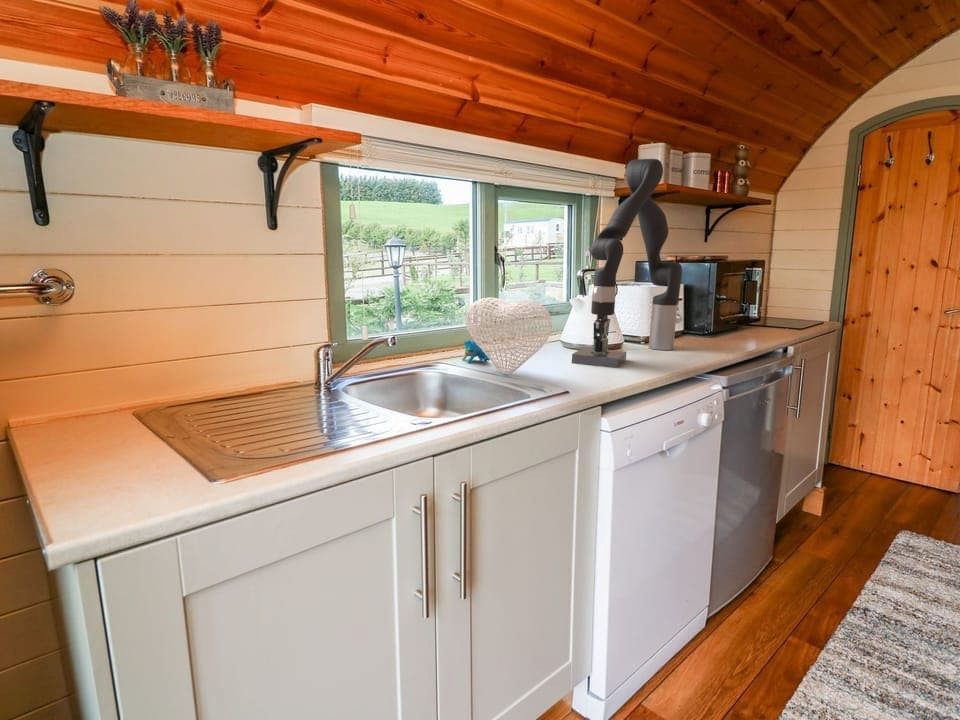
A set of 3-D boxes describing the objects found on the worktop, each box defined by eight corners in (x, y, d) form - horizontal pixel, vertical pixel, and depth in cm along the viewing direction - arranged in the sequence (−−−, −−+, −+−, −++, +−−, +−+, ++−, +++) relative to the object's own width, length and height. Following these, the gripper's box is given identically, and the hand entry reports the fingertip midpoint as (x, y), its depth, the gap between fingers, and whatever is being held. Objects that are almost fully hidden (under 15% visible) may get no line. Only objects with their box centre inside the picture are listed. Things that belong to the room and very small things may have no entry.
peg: (594, 360, 199) (596, 337, 198) (606, 361, 198) (608, 338, 196) (592, 362, 196) (593, 338, 194) (604, 363, 194) (605, 339, 192)
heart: (559, 378, 169) (563, 302, 165) (526, 386, 158) (529, 305, 154) (488, 363, 188) (490, 294, 184) (454, 369, 177) (455, 296, 173)
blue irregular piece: (497, 358, 187) (477, 338, 183) (486, 372, 186) (466, 352, 181) (478, 357, 197) (459, 338, 192) (468, 371, 195) (449, 351, 191)
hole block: (583, 355, 206) (583, 347, 206) (625, 360, 200) (626, 351, 200) (571, 362, 193) (572, 354, 192) (617, 367, 187) (617, 358, 186)
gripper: (597, 297, 200) (594, 346, 204) (587, 300, 188) (583, 352, 191) (619, 299, 197) (615, 348, 201) (610, 302, 185) (606, 355, 188)
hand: (600, 350), depth 196 cm, fingers open, 4 cm apart
